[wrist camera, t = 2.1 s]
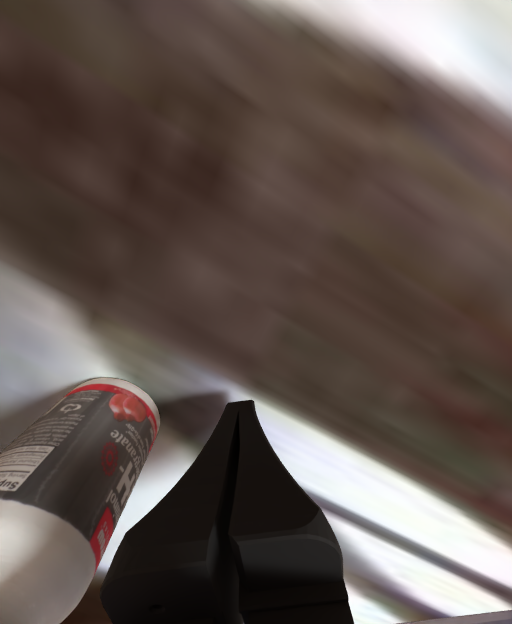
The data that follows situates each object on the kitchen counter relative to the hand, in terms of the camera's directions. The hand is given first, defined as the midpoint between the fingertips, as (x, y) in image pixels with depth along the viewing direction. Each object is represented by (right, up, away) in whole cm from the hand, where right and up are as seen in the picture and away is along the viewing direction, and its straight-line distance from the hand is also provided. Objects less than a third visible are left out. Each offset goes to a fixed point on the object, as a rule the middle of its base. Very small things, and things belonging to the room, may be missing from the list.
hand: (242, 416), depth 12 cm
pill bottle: (-8, 0, +2) cm, 8 cm away
